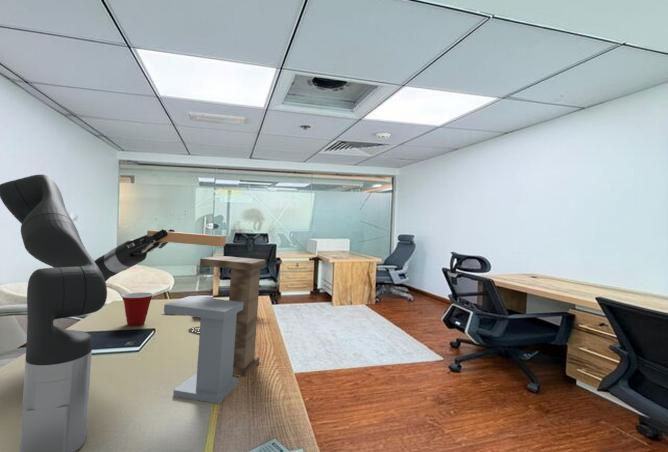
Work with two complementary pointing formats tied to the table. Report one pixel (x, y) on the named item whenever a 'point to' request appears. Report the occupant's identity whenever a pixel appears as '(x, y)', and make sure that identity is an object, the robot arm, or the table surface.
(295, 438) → the table surface
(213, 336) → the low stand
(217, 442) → the table surface
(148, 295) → the plastic cup
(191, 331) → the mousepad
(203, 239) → the bar
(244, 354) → the tall stand
